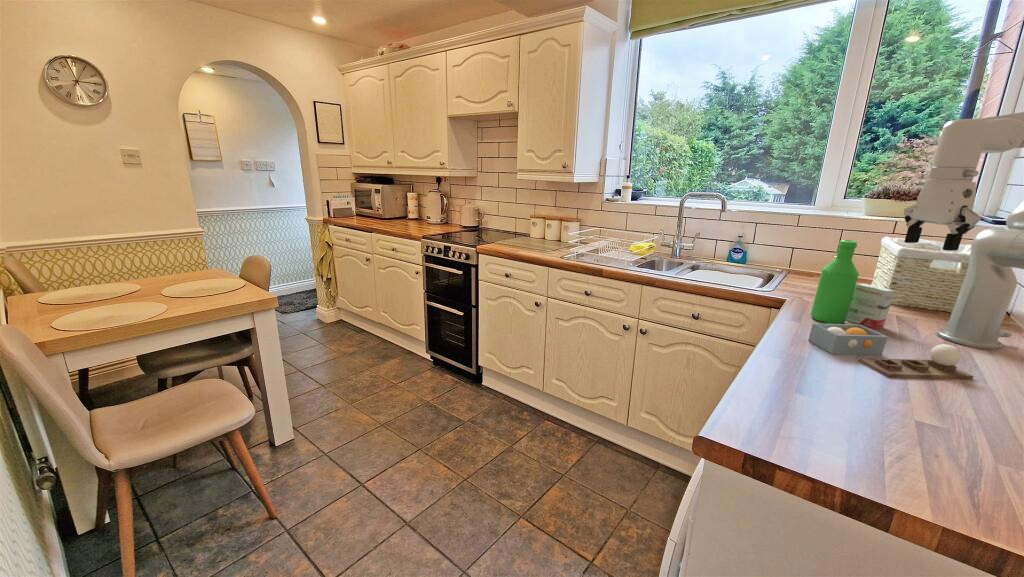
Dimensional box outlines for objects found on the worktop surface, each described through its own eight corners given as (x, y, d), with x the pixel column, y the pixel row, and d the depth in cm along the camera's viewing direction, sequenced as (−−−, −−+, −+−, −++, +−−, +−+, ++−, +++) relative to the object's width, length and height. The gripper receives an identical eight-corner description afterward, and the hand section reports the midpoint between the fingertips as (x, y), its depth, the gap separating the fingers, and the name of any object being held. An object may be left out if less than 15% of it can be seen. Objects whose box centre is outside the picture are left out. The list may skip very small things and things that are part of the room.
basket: (986, 320, 136) (1011, 255, 130) (881, 304, 148) (899, 244, 142) (954, 299, 158) (974, 243, 152) (865, 287, 171) (880, 235, 165)
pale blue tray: (855, 341, 113) (860, 324, 111) (882, 355, 105) (888, 337, 103) (808, 340, 112) (812, 323, 111) (832, 354, 104) (837, 335, 103)
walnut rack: (936, 362, 101) (939, 356, 101) (972, 379, 94) (975, 371, 93) (858, 361, 101) (860, 354, 100) (887, 377, 93) (890, 370, 92)
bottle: (850, 326, 124) (874, 244, 117) (818, 323, 126) (840, 242, 119) (835, 316, 132) (856, 239, 125) (804, 314, 134) (824, 237, 127)
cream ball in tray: (834, 341, 111) (839, 324, 109) (849, 349, 106) (854, 331, 104) (816, 341, 110) (820, 323, 109) (830, 349, 106) (835, 331, 104)
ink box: (884, 327, 125) (895, 289, 122) (875, 329, 123) (887, 291, 119) (851, 317, 132) (862, 282, 129) (843, 319, 130) (853, 283, 127)
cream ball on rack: (941, 360, 100) (948, 341, 98) (963, 370, 95) (971, 350, 93) (921, 359, 99) (927, 340, 98) (942, 369, 95) (950, 349, 93)
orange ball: (854, 342, 111) (859, 324, 110) (870, 349, 106) (875, 331, 105) (836, 342, 111) (840, 324, 109) (851, 349, 106) (856, 331, 105)
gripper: (1009, 176, 90) (982, 253, 95) (930, 174, 107) (911, 240, 112) (975, 176, 90) (951, 253, 95) (901, 174, 106) (884, 240, 111)
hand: (929, 246), depth 103 cm, fingers open, 9 cm apart
